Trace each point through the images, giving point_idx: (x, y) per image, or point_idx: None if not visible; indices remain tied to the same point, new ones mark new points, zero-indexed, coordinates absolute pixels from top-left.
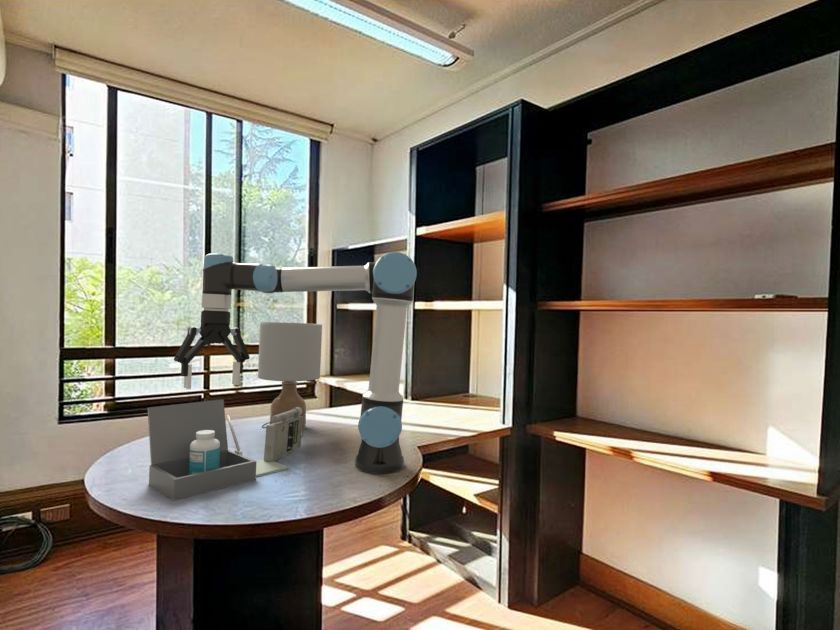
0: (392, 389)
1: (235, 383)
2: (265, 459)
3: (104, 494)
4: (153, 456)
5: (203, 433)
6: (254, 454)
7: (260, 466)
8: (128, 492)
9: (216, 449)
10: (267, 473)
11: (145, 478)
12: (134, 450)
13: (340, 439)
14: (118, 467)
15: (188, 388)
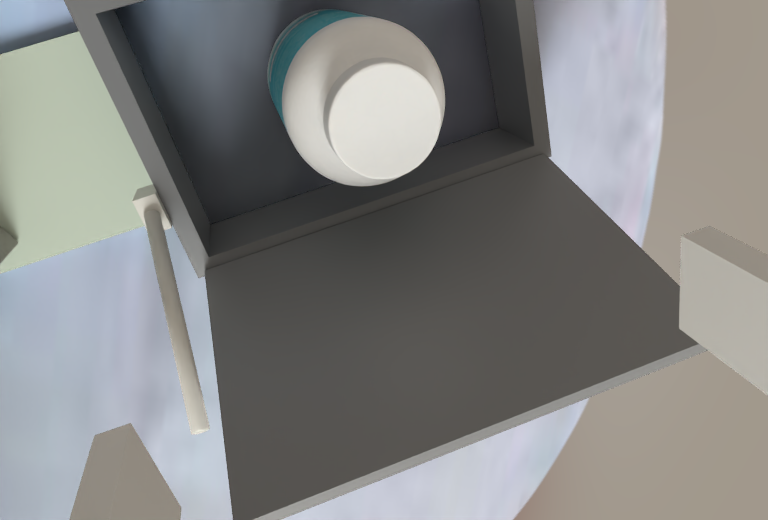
0: None
1: (143, 462)
2: (6, 236)
3: (646, 93)
4: (555, 172)
5: (405, 88)
6: (61, 375)
7: (43, 159)
8: (585, 77)
9: (309, 37)
10: (11, 51)
11: None
12: (482, 506)
13: None
14: None
15: (709, 230)
